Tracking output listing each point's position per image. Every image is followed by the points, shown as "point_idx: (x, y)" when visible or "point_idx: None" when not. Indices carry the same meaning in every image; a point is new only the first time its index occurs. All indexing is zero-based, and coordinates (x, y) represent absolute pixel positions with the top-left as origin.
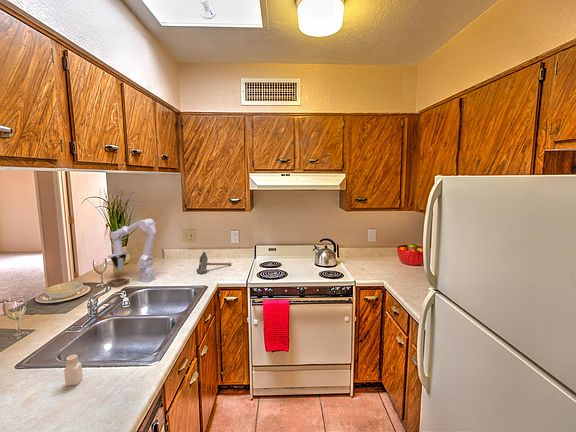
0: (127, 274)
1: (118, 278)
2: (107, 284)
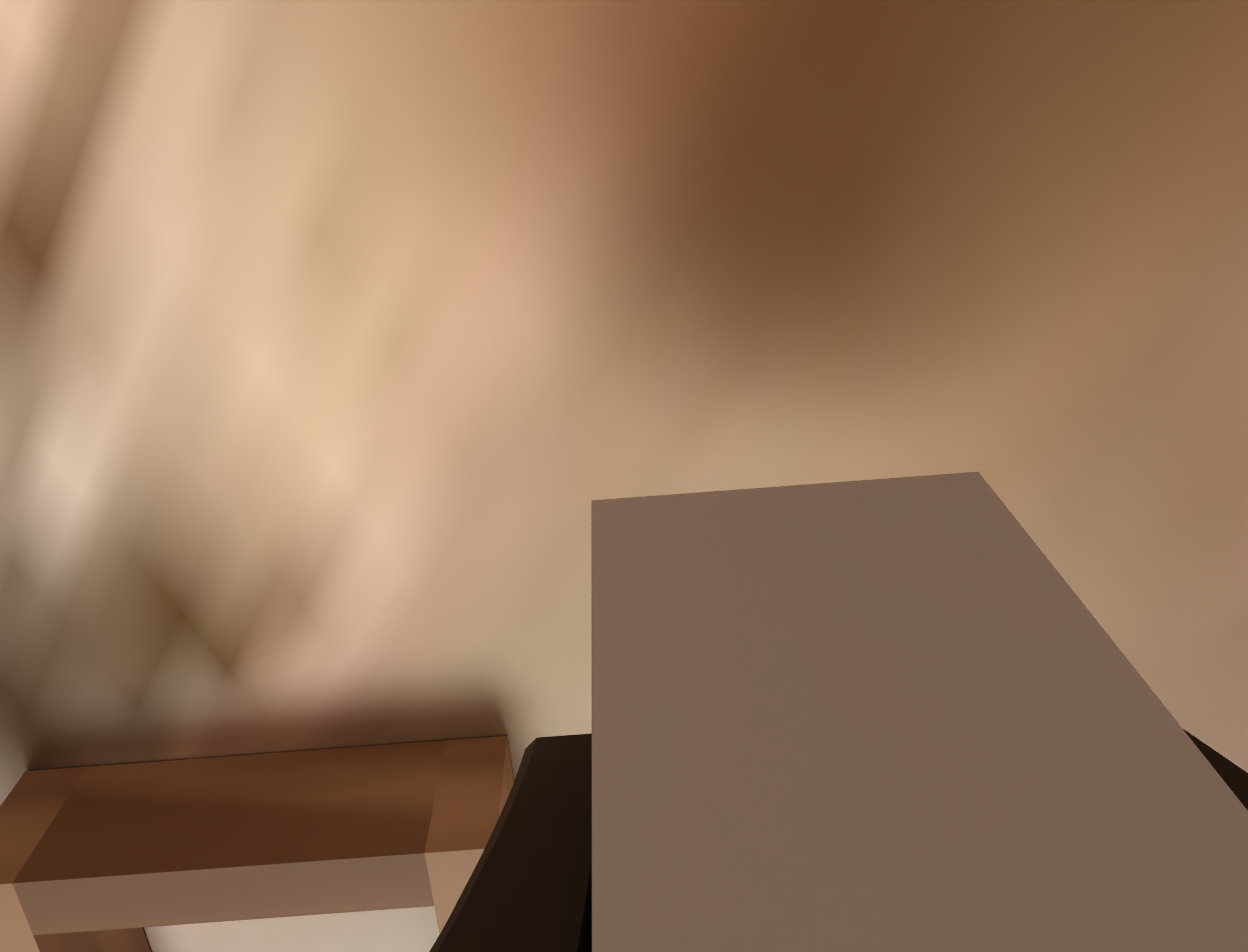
0: (1240, 180)
1: (384, 906)
2: (5, 805)
